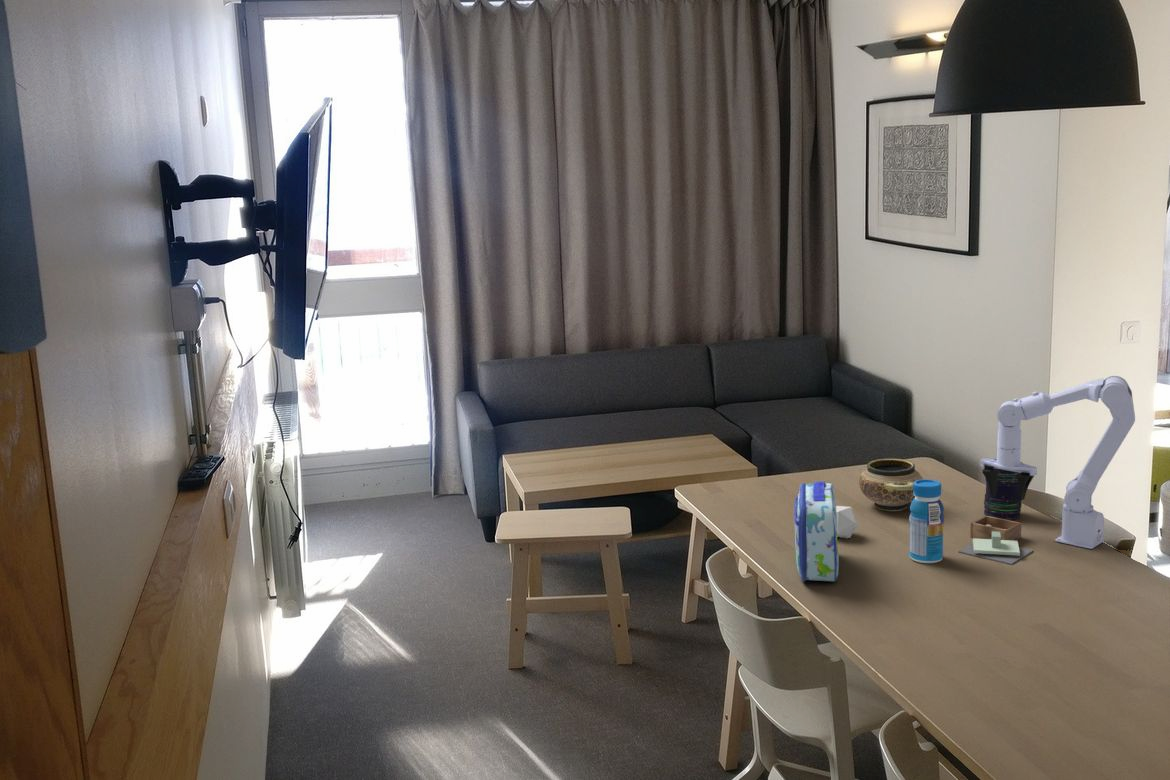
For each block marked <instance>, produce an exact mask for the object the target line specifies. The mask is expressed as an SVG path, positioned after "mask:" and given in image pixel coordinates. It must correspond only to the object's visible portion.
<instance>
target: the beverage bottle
mask: <svg viewBox="0 0 1170 780" xmlns="http://www.w3.org/2000/svg"><path fill="white" fill-rule="evenodd" d="M913 494H914V496H915V498H914V499H913V501H911V502H910V503H911V504H910V506H909V510H910V514H909V516H908V521H909V553H908V554H909V558H910V559H911V560H912V561H913V562H917V563H921V564H936V563H939V562H941V561H943V558H944V524H945V516H944V514H943V513H944V511H945V508H944V504H943V503H942V501H941V499H940V498H941V495H942V484H941V482H940V481H938V480H934V479H926V478H925V479H924V478H923V479H922V480H917V481H915V482H914V483H913Z"/></svg>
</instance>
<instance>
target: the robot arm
mask: <svg viewBox="0 0 1170 780" xmlns="http://www.w3.org/2000/svg"><path fill="white" fill-rule="evenodd" d="M1132 391H1133V390H1132V389H1131V387H1130V385H1129V383H1128V381H1126V379H1125V378H1123V377H1122V376H1119V375H1110V376H1107V377H1105V378H1104V377H1102V378H1097V379H1094V380H1091V381H1087V382H1084V383H1081V384H1079V385H1078V384H1077V385H1075V386H1073V387H1069V388H1067V389H1063V390H1060V391H1058V392H1054V393H1052V394H1049V393H1046V392H1038V391H1033V392H1032V393H1031V395H1029V396H1028V395H1027V396H1025V397H1021V398H1018V397H1016V398H1014V399H1013V400H1008V401H1005V402H1003V403H1002V404H1001V405H1000V406H999V409H997V410H998V411H997V415H996V416H997V420H998V424H997V427H998V429H997V441H996V443H997V446H996V449H997V450H996V452H997V453H996V454H997V455H996V458H982V459H980V468H983V469H982V471H981V472H982V473H981V474H982V475H984V479H985V478H986V480H987V482H988V485H989V489H990V493H991V495H995V494H997V479H998V473H999V469H1002V470H1007V471H1013V472H1019V473H1021V474H1020V475H1018V476H1017V480H1018V487H1019V491H1018V500H1020V501H1021V502H1022V501H1023V500H1025V499H1026V495H1027V491H1028V489H1029V485H1030V484H1031V482H1032V481H1033V479H1034V477H1035V476H1036V475H1038V466H1033V465H1030V464H1026V463H1023V462H1022V463H1020V462H1021V451H1022V448H1021V445H1022V442H1021V441H1022V430H1021V421H1028V420H1031V419H1035V418H1038V417H1043V416H1046V415H1048V414H1051V413H1052V411H1053V409H1054V407H1058V406H1063V405H1066V404H1071V403H1075V402H1078V401H1082V400H1090V401H1091V402H1095V403H1099V399H1100V401H1101V402H1102V403H1103V404H1104V405H1105V407H1106V408H1107V409H1108V410H1109V412H1110V415H1111V417H1112V420H1111V421H1110V423H1109V425H1108V426H1107V428H1106V430H1104V433H1103V434H1102V436H1101V437H1100V440H1099V441H1098V443H1097V445H1096V446H1095V448H1094V449H1093V451H1092V453H1091V454H1090V456H1089V458H1088V459H1087V460H1086V463H1085V464H1084V465H1083V467H1082V469H1081V470H1080V471H1079V472H1078V474H1077V476H1076V477H1075V478H1074V479H1072V480H1070V481H1069V482H1068V483H1067V485H1066V486H1065V490H1066V491H1065V495H1064V499H1063V501H1064V503H1063V504H1062V514H1061V515H1062V517H1061V518H1062V519H1061V535H1060V536H1058V537H1057V538H1055V540H1054V541H1055V542H1057V543H1062V544H1067V545H1071V546H1075V547H1080V548H1081V547H1082V548H1085V549H1089V550H1092V549H1094V548H1096V547H1097V546H1098V545H1100V544H1102V543H1103V542H1105V539H1104V531H1105V530H1104V529H1105V515H1104V514H1103V513H1102V512H1101V511H1097V510H1095V509H1094V505H1092V500H1093V499H1092V497H1093V494H1094V493H1095V490H1096V488H1097V486H1098V483H1099V482H1100V480H1101V478H1102V477H1103V474H1104V473H1105V472H1106V470H1107V468H1108V466H1109V465H1110V463H1111V462H1112V460H1113V458H1114V456H1115V455H1116V453H1117V452H1118V450H1119V449H1120V447H1121V446H1122V444H1123V443H1124V440H1125V439H1126V437H1127V435H1128V434H1129V433H1130V431H1131V429H1132V428H1133V426H1134V424H1135V422H1136V414H1135V413H1136V412H1135V406H1134V400H1133V392H1132ZM996 459H997V460H996Z"/></svg>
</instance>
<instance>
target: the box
mask: <svg viewBox="0 0 1170 780" xmlns="http://www.w3.org/2000/svg"><path fill="white" fill-rule="evenodd" d="M992 531H994V532H1000V535H1001V540H1013V541H1018V540H1019V539H1021V538H1022V522H1018V521H1015V520H1014V521H1013V520H1011V519H1009V520H1007V519H1000V518H995V517H990V516H986V515H983V516H982V517H980V518H978V519H976V520H974V521H972V522H970V538H972V539H973V538H975V539H992Z"/></svg>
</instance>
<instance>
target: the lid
mask: <svg viewBox="0 0 1170 780" xmlns="http://www.w3.org/2000/svg"><path fill="white" fill-rule="evenodd" d="M972 543H973V548H974V553H982V554H999V555H1017V556H1020V551H1019V542H1018V540H1016V541H1013V540H1001V535H1000V532H994V531H992V539H975V538H972Z"/></svg>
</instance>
